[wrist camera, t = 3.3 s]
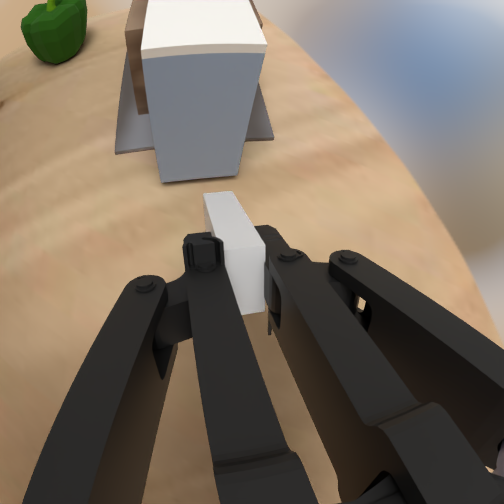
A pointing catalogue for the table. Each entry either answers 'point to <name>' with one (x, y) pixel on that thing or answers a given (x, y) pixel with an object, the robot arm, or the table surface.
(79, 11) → the bell pepper
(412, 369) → the robot arm
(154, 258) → the table surface
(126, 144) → the housing
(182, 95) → the white box
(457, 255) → the table surface
